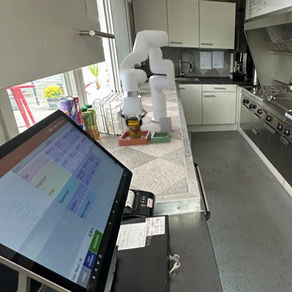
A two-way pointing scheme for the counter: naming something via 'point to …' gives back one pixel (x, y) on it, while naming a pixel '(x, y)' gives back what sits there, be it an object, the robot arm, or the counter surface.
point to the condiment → (134, 128)
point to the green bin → (160, 137)
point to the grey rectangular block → (165, 124)
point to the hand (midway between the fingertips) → (134, 125)
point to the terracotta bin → (134, 141)
